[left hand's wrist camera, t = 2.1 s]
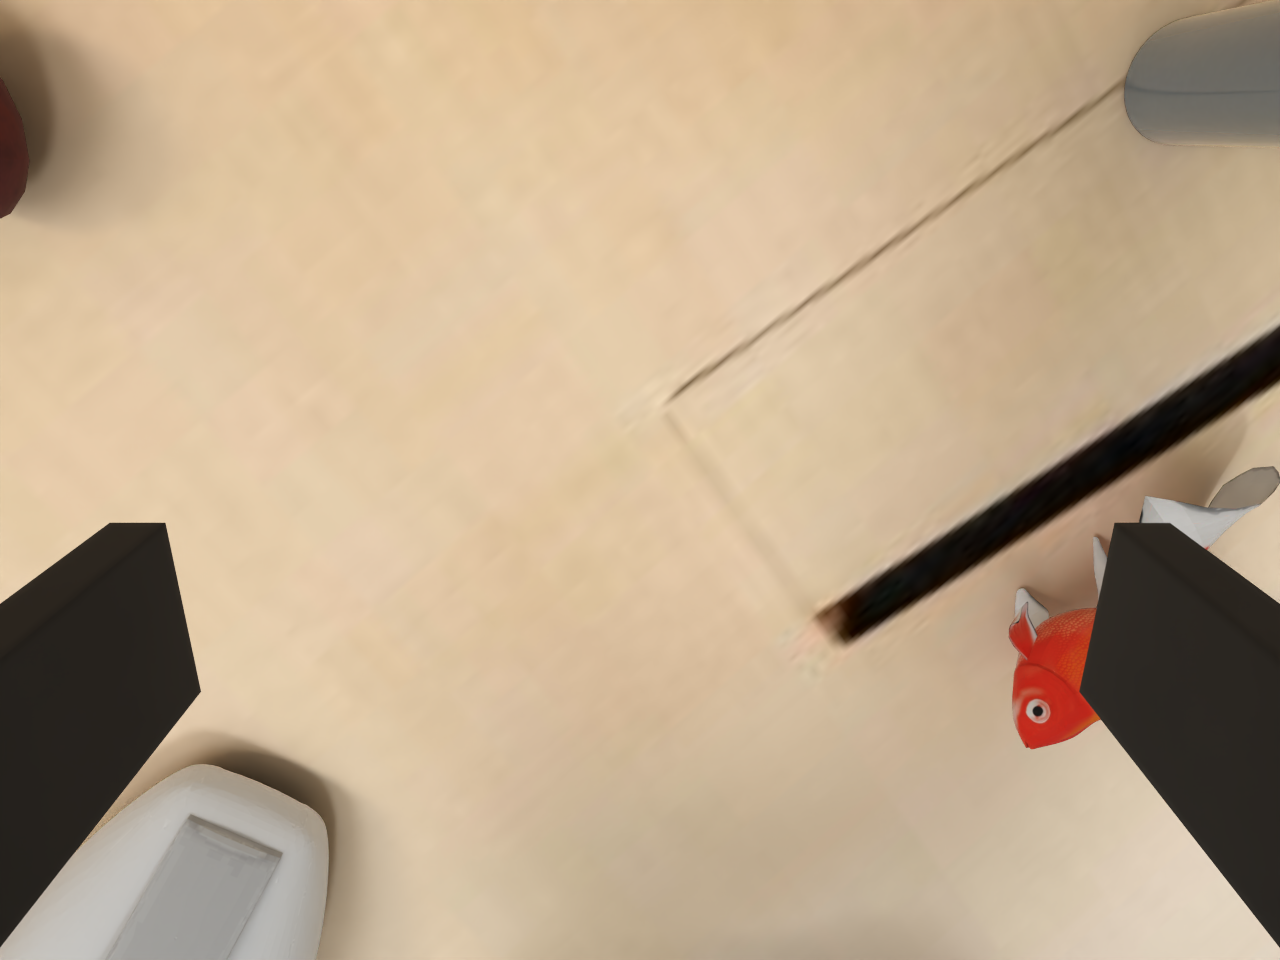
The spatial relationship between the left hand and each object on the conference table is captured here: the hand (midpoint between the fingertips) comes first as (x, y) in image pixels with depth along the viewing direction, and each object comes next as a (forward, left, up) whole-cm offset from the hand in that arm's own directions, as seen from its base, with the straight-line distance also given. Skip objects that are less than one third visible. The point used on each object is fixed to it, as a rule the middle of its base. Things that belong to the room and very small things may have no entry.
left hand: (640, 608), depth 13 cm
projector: (-35, +26, -28) cm, 52 cm away
